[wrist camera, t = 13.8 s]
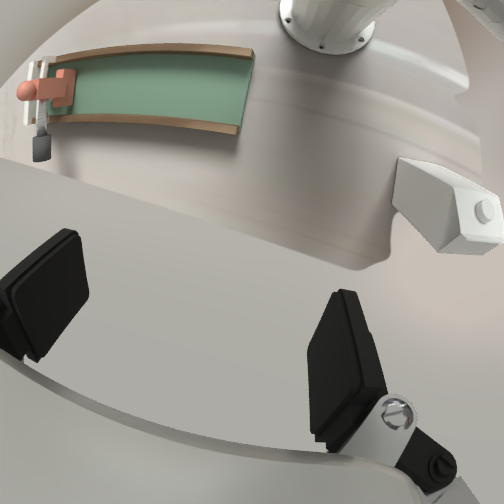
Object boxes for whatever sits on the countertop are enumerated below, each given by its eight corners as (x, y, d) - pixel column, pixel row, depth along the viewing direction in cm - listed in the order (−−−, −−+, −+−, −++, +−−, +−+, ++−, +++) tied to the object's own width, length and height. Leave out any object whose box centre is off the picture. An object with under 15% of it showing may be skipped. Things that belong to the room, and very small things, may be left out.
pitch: (49, 62, 29) (33, 62, 26) (255, 55, 29) (252, 48, 26) (42, 120, 34) (27, 124, 31) (239, 132, 35) (235, 134, 31)
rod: (68, 70, 29) (15, 71, 19) (81, 68, 29) (27, 67, 19) (62, 149, 36) (11, 169, 25) (74, 150, 36) (23, 170, 25)
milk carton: (429, 208, 37) (500, 274, 20) (390, 203, 37) (454, 274, 21) (437, 164, 33) (521, 210, 17) (397, 156, 34) (476, 200, 17)
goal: (45, 62, 28) (24, 62, 24) (67, 57, 28) (46, 56, 24) (39, 121, 34) (17, 126, 29) (60, 120, 34) (38, 125, 29)
